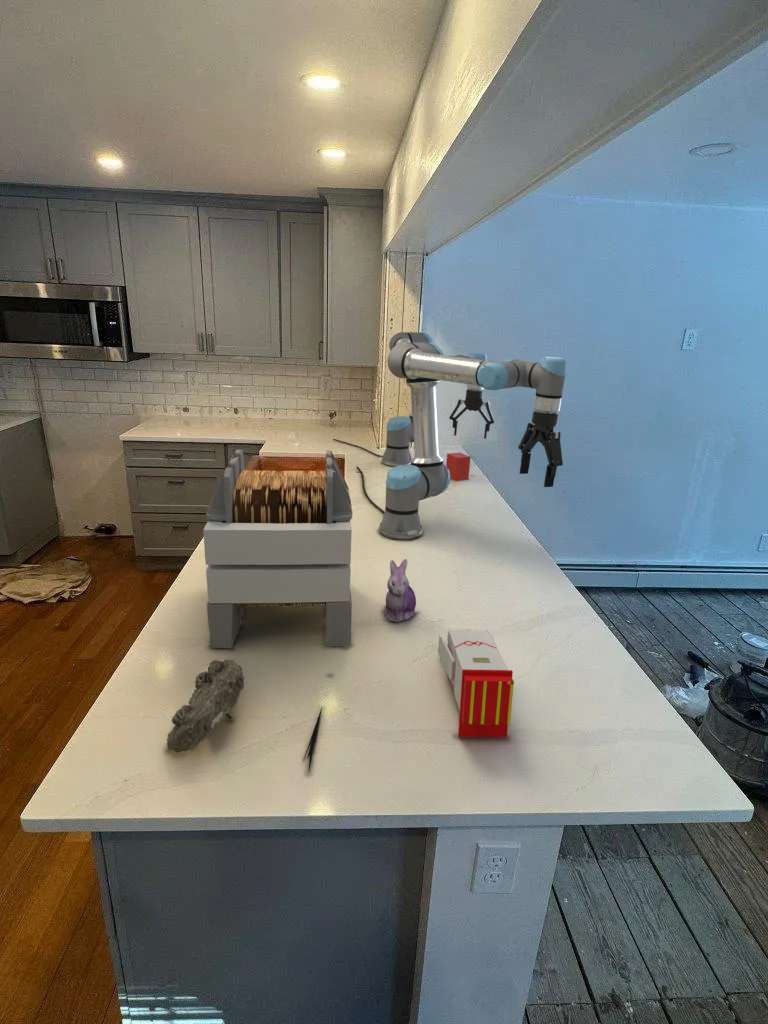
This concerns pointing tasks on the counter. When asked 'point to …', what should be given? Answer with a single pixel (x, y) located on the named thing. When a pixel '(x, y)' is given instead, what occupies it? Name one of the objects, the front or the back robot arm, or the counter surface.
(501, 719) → the toy
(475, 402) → the back robot arm
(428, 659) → the counter surface
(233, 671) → the fossil
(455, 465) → the brick
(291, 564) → the record crate
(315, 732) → the feather
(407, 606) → the figurine
